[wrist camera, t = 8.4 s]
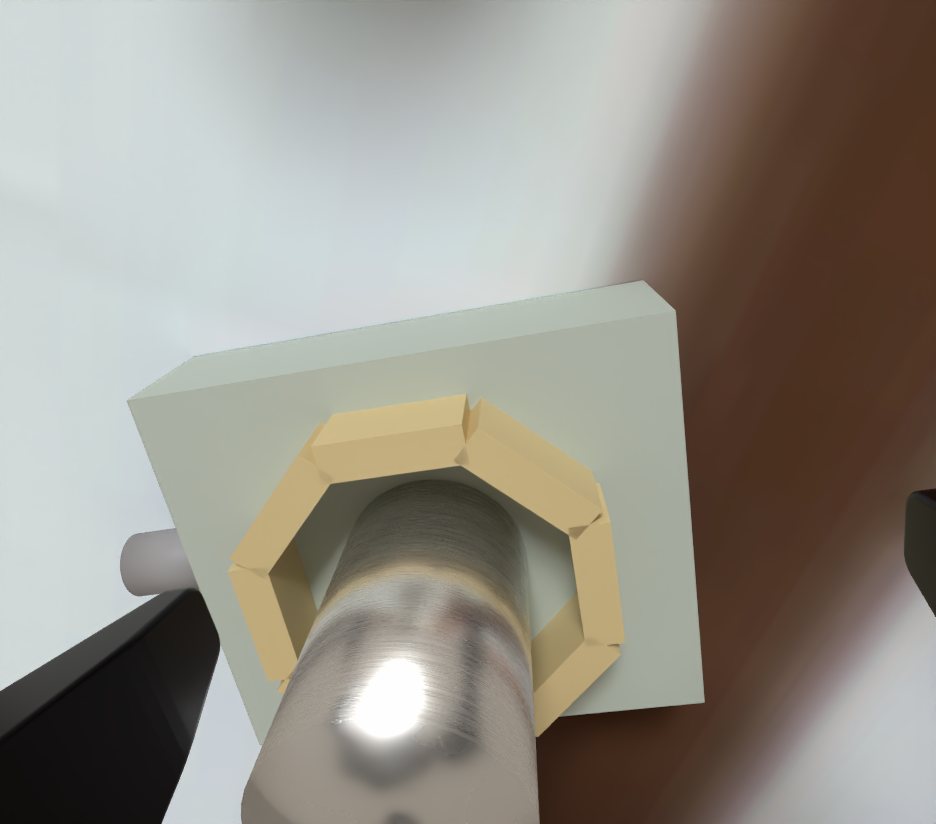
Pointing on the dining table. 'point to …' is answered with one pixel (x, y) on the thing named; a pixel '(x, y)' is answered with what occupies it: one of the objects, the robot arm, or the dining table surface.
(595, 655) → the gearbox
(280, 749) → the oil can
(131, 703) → the robot arm
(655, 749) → the dining table surface
